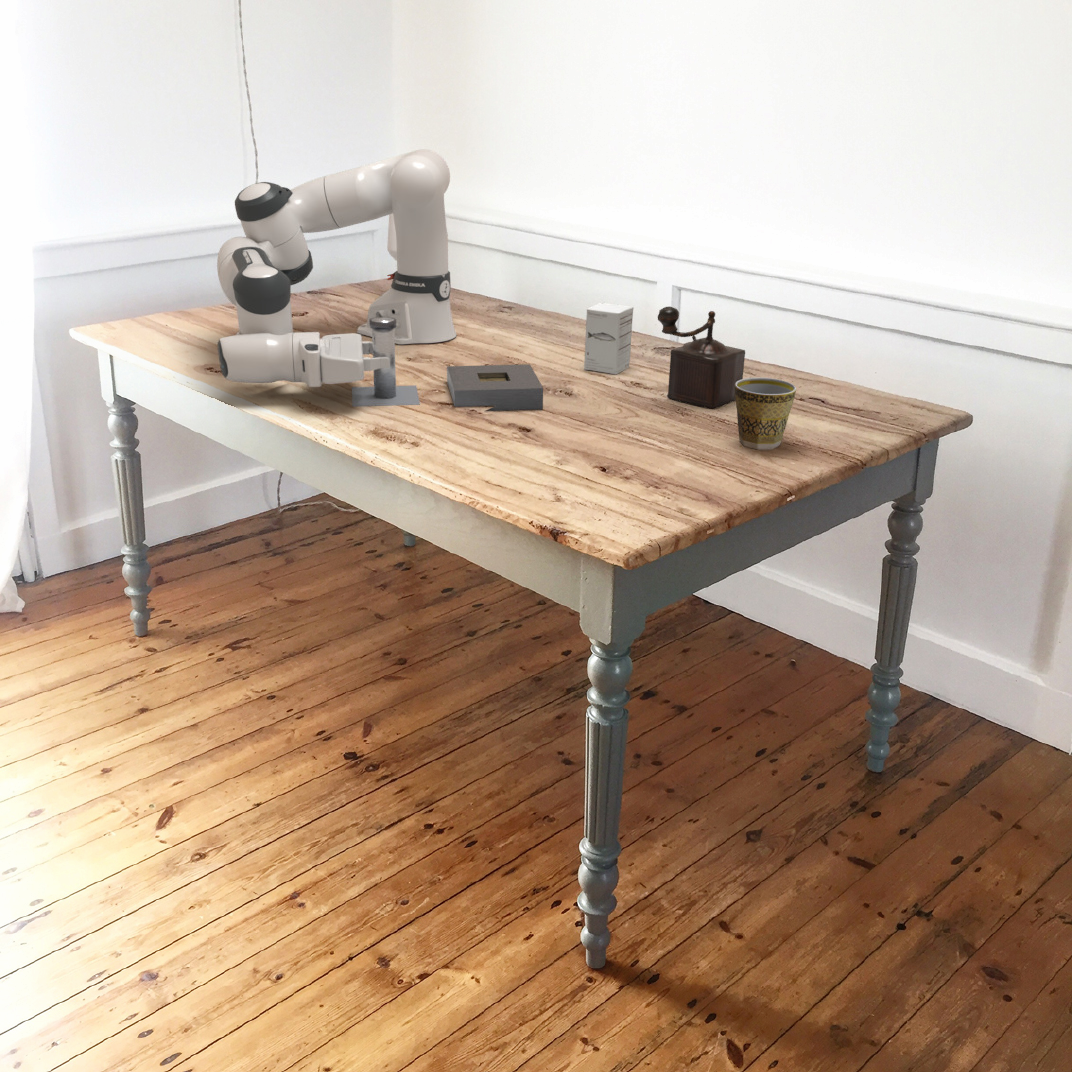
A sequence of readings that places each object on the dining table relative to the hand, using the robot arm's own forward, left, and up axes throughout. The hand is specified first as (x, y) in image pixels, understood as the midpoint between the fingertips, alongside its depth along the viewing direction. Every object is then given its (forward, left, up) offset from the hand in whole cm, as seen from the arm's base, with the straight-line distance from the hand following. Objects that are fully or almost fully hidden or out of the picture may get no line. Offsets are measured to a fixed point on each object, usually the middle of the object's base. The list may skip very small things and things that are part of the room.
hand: (388, 355), depth 208 cm
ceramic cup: (+65, +17, -9) cm, 68 cm away
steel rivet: (-1, -1, -8) cm, 8 cm away
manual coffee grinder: (+47, +32, -9) cm, 57 cm away
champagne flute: (-48, +67, -9) cm, 83 cm away
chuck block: (+15, +12, -9) cm, 21 cm away
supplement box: (+23, +42, -9) cm, 49 cm away
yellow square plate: (+15, +12, -7) cm, 20 cm away
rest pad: (-1, -1, -9) cm, 9 cm away
